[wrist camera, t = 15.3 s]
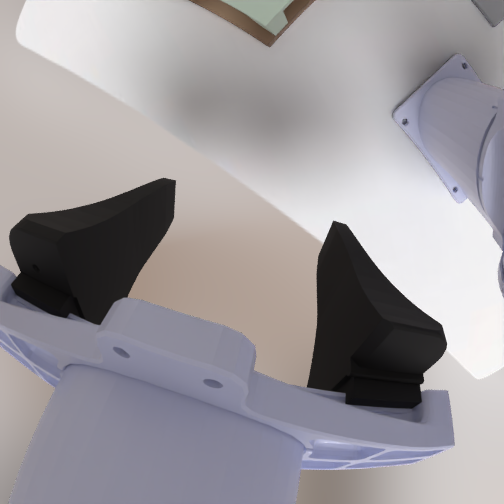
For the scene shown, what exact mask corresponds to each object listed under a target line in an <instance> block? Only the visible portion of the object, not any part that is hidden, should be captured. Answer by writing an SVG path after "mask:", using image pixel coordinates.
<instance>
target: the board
mask: <svg viewBox="0 0 504 504" xmlns="http://www.w3.org/2000/svg"><path fill="white" fill-rule="evenodd" d="M189 1H191V2H194V3H196V4H198V5H200V6H201V7H203V8H205V9H207V10H209V11H211V12H213V13H215V14H216V15H218V16H220V17H222V18H224V19H225V20H227V21H229V22H231V23H232V24H234V25H236V26H237V27H239V28H241V29H242V30H244V31H245V32H247V33H249V34H250V35H252V36H253V37H255V38H256V39H258V40H259V41H261V42H262V43H264V44H265V45H267V46H269V47H271V46H272V44H273V43H274V42H275V41H276V40H277V39H278V38H279V37H280V36H281V35H282V33H283V32H284V31H285V30H286V29H287V28H288V27H289V26H290V25H291V24H292V23H293V22H294V21H295V20H296V19H297V18H298V17H299V16H300V15H301V14H302V13H303V12H304V11H305V10H306V9H307V8H308V7H309V6H310V5H311V4H312V3H313V2H314V1H315V0H293V1H292V2H291V3H290V4H289V5H288V6H287V7H286V8H285V9H284V10H283V12H284V14H285V17H286V19H287V21H288V23H287V24H286V25H285V27H284V28H283V29H282V30H281V31H280V32H279V33H278V34H277V35H276V36H275V35H274V34H272V33H271V32H269V31H268V30H266V29H265V28H263V27H262V26H260V25H259V24H258V23H256V22H255V21H254V20H253V19H251V18H250V17H249V16H248V15H246V14H244V13H243V12H241V11H239V10H237V9H236V8H234V7H232V6H230V5H228V4H227V3H225V2H223V1H221V0H189Z"/></svg>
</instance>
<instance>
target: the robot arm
mask: <svg viewBox="0 0 504 504" xmlns="http://www.w3.org/2000/svg"><path fill="white" fill-rule="evenodd" d="M463 63H464V64H465V69H464V68H463V67H462V64H463ZM393 118H394V120H395V121H396V122H397V123H398V125H399V126H400V127H401V128H402V129H403V130H404V132H405V133H406V134H407V135H408V136H409V137H410V139H411V140H412V141H413V142H414V144H415V145H416V146H417V147H418V149H419V150H420V151H421V152H422V154H423V155H424V156H425V158H426V159H427V160H428V162H429V163H430V164H431V166H432V167H433V168H434V170H435V171H436V173H437V174H438V175H439V177H440V178H441V180H442V181H443V183H444V184H445V185H446V187H447V188H448V190H449V191H450V193H451V195H452V196H453V198H454V199H455V201H456V202H457V203H462V202H464V201H465V200H466V199H467V198H468V199H469V200H470V201H471V202H472V204H473V205H474V206H475V207H476V208H477V210H478V211H479V212H480V213H481V214H482V216H483V217H484V218H485V219H486V221H487V222H488V223H489V225H490V226H491V227H492V228H493V238H494V239H495V241H496V242H497V244H498V245H499V246H500V248H501V249H502V251H503V253H502V256H501V259H500V263H499V267H498V282H499V287H500V290H501V292H502V295H503V297H504V89H501V88H498V87H494V86H491V85H487V84H484V83H482V82H481V80H480V79H479V77H478V76H477V74H476V73H475V71H474V70H473V68H472V67H471V66H470V64H469V63H468V61H467V60H466V59H465V57H464V56H463V55H461V54H455V55H454V56H453V57H452V58H450V59H449V60H448V61H447V62H446V63H445V64H444V65H443V66H442V67H441V68H440V69H439V70H438V71H437V72H436V73H434V74H433V75H432V76H431V77H430V78H429V79H428V80H427V81H426V82H425V83H424V84H423V85H422V86H421V87H420V88H419V89H417V90H416V91H415V92H414V93H413V94H412V95H411V96H410V97H409V98H408V99H407V100H406V101H405V102H404V103H403V104H402V105H400V106H399V107H398V108H397V109H396V110H395V111H394V113H393ZM403 119H407V123H406V124H405V125H403V124H402V120H403ZM175 185H176V181H175V180H171V179H166V178H162V179H158V180H156V181H153V182H150V183H148V184H145V185H143V186H140V187H138V188H135V189H133V190H131V191H128V192H125V193H123V194H120V195H117V196H115V197H112V198H109V199H106V200H104V201H100V202H97V203H93V204H90V205H86V206H81V207H77V208H73V209H68V210H62V211H55V212H47V213H35V214H28V215H26V216H25V217H24V218H23V219H22V220H21V221H20V222H19V223H17V224H16V225H15V226H14V227H13V228H12V229H11V231H10V235H9V240H10V245H11V249H12V251H13V254H14V257H15V259H16V261H17V264H18V266H19V269H20V271H21V273H20V274H19V275H18V276H17V277H16V276H15V274H14V273H12V272H11V271H10V270H8V269H6V268H4V267H3V266H1V265H0V347H1V348H3V349H4V350H5V351H6V352H8V353H9V354H10V355H11V356H13V357H14V358H15V359H16V360H18V361H19V362H20V363H21V364H23V365H24V366H26V367H27V368H28V369H29V370H31V371H32V372H33V373H35V374H36V375H37V376H39V377H40V378H41V379H43V380H44V381H46V382H47V383H49V384H50V385H51V386H53V387H55V390H54V392H53V394H52V396H51V398H50V400H49V402H48V405H47V406H46V408H45V411H44V413H43V415H42V417H41V419H40V421H39V424H38V426H37V428H36V430H35V432H34V435H33V437H32V440H31V442H30V444H29V447H28V449H27V451H26V454H25V457H24V459H23V462H22V464H21V467H20V470H19V472H18V475H17V478H16V481H15V484H14V487H13V490H12V493H11V496H10V499H9V502H8V504H296V498H297V493H298V486H299V479H300V473H301V469H309V470H339V469H361V468H375V467H387V466H396V465H407V464H414V463H417V462H419V461H422V460H425V459H427V458H429V457H432V456H434V455H437V454H439V453H441V452H443V451H446V450H448V449H450V448H452V447H453V446H454V445H455V443H454V432H453V423H452V415H451V408H450V400H449V394H448V391H447V390H425V391H422V392H421V391H420V384H422V383H423V382H424V377H423V373H424V372H425V371H427V370H428V369H429V368H430V367H431V366H432V365H434V364H435V363H436V362H437V361H438V360H439V359H440V358H441V357H442V356H443V354H444V352H445V350H446V347H447V342H446V338H445V334H444V331H443V327H442V325H441V324H440V323H438V322H437V321H436V320H434V319H433V318H431V317H430V316H428V315H427V314H426V313H424V312H423V311H422V310H420V309H419V308H418V307H417V306H415V305H414V304H413V303H412V302H411V301H409V300H408V299H407V298H406V297H405V296H404V295H403V294H402V293H401V292H400V291H399V290H398V289H397V288H396V287H395V286H394V285H393V284H392V283H391V282H390V281H389V280H388V279H387V278H386V277H385V276H384V275H383V273H382V272H381V271H380V270H379V269H378V267H377V266H376V265H375V263H374V262H373V261H372V260H371V258H370V257H369V256H368V254H367V253H366V251H365V250H364V249H363V247H362V246H361V244H360V243H359V241H358V240H357V239H356V237H355V236H354V234H353V233H352V231H351V230H350V229H349V227H348V226H347V225H346V224H343V223H339V222H336V221H333V223H332V225H331V228H330V230H329V232H328V235H327V237H326V239H325V242H324V244H323V246H322V249H321V251H320V253H319V256H318V265H317V314H318V315H317V329H316V338H315V345H314V352H313V358H312V364H311V369H310V375H309V380H308V385H307V387H301V386H296V385H290V384H287V383H284V382H282V381H279V380H277V379H274V378H271V377H269V376H267V375H264V374H262V373H259V372H257V371H254V365H255V360H256V350H255V345H254V344H253V343H252V342H251V341H250V340H249V339H248V338H246V336H244V335H243V334H242V333H241V332H239V331H236V330H234V329H232V328H230V327H227V326H225V325H221V324H218V323H214V322H211V321H208V320H204V319H201V318H197V317H194V316H191V315H187V314H184V313H181V312H178V311H174V310H171V309H168V308H165V307H162V306H159V305H156V304H153V303H150V302H147V301H144V300H139V299H133V298H127V297H128V294H129V292H130V290H131V288H132V286H133V284H134V282H135V280H136V278H137V276H138V274H139V272H140V271H141V269H142V267H143V266H144V264H145V263H146V262H147V260H148V259H149V257H150V256H151V254H152V253H153V251H154V250H155V249H156V247H157V246H158V244H159V243H160V241H161V240H162V239H163V237H164V236H165V234H166V232H167V231H168V228H169V227H170V225H171V223H172V221H173V218H174V204H175ZM454 187H456V189H455V190H454V191H453V188H454Z"/></svg>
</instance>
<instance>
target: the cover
mask: <svg viewBox="0 0 504 504" xmlns="http://www.w3.org/2000/svg"><path fill="white" fill-rule="evenodd" d="M221 1H223V2H225V3H227V4H228V5H230V6H232V7H234V8H236V9H237V10H239V11H241V12H243V13H244V14H246V15H248V16H249V17H250V18H251V19H253V20H254V21H255V22H256V23H258V24H259V25H260V26H262V27H263V28H265V29H266V30H268V31H269V32H271V33H272V34H274V35H275V36H276V35H277V34H278V33H279V32H280V31H281V30H282V29H283V28H284V27H285V25H286V24H287V23H288V21H287V19H286V17H285V14H284V12H283V10H284V9H285V8H286V7H287V6H288V5H289V4H290V3H291V2H292V1H293V0H221Z"/></svg>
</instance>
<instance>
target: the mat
mask: <svg viewBox="0 0 504 504" xmlns="http://www.w3.org/2000/svg"><path fill="white" fill-rule="evenodd" d="M472 1H473V3H474V4H475V5H476V6H477V7H478V9H479V10H480V11H481V12H482V14H483V15H484V16H485V18H486V19H487V20H488V22H489V23H490V24H491V26H492V27H495V26H496V25H498V24H499V23H500V22H501V21H502V20H503V19H504V0H472Z"/></svg>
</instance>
